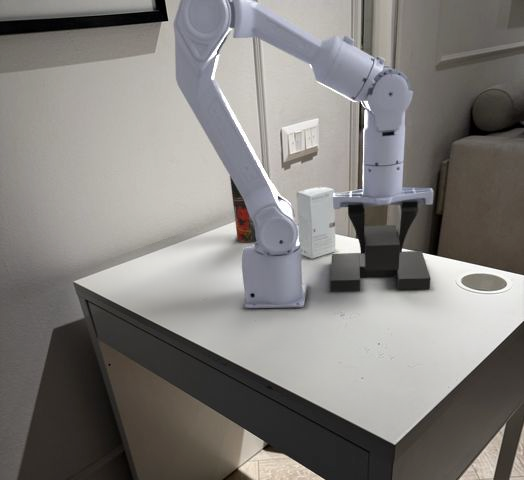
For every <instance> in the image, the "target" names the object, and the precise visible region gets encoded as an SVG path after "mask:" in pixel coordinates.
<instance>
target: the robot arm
mask: <svg viewBox="0 0 524 480" xmlns="http://www.w3.org/2000/svg"><path fill="white" fill-rule="evenodd" d="M172 24H173V25H172V26H173V32H174V53H175V54H174V56H175V57H174V59H175V62H174V63H175V81H176V83H177V86H178V88H179V90H180V91H181V93H182V95H183V97H184V98H185V100H186V102H187V104H188V105H189V107H190V109H191V110H192V112H193V114H194V116H195V118H196V119H197V121H198V123H199V124H200V126H201V128H202V130H203V131H204V133H205V135H206V137H207V139H208V140H209V142H210V144H211V146H212V147H213V149H214V150H215V152H216V154H217V156H218V158H219V160H220V162H222V165H223V166H224V168H225V169H226V171H227V173H228V175H229V178H230V177H231V178H232V180H233V182H234V184H235V185H236V187H237V189H238V190H239V192H240V194H241V196H242V197H243V199H244V202H245V205H246V207H247V210H248V213H249V215H250V218H251V219H252V221H253V223H254V226H255V235H256V240H257V241H256V242H254V246H248V247H244V248H243V249H242V254H241V273H242V281H243V290H244V291H243V292H244V299H245V305H244V306H245V308H246V309H277V308H281V309H282V308H283V309H285V308H303V307H304V306H305V300H306V296H307V295H306V294H307V288H308V285H307V284H306V283H303V270H302V267H303V266H302V254H301V247H300V240H299V229H298V223H296V219H295V218H296V214H295V213H296V212H295V209H294V207H293V205H292V203H291V202H289V200H287V199H286V198H284V197H283V196H282V195H281V194H280V193H279V192H278V190H277V188H276V187H275V185H274V184H273V183H272V181H271V179H270V178H269V176H268V174H267V173H266V171H265V169H264V167H263V165H262V163H261V161H260V160H259V158H258V156H257V154H256V152H255V150H254V148H253V147H252V145H251V142H250V141H249V139H248V137H247V135H246V134H245V132H244V130H243V128H242V126H241V124H240V122H239V121H238V119H237V117H236V114H235V113H234V111H233V110H232V108H231V105H230V104H229V102H228V100H227V99H226V97H225V95H224V93H223V91H222V89H221V87H220V85H219V83H218V81H217V80H216V78H215V74H216V70H217V66H218V62H219V57H220V52H221V50H222V47H223V46H224V44H225V43H226V41H227V39H228V37H229V36H230V34H231V31H232V29H233V33H232V34H233V35H232V37H233V39H248V38H254V39H255V38H256V39H259V40H261V41H263V42H265V43H267V44H268V45H270V46H273V47H274V48H276V49H278V50H280V51H282V52H283V53H286V54H288V55H290V56H292V57H294V58H296V59H298V60H299V61H302V62H303V63H306V64H308V66H310V68H311V71H312V75H313V78H314V81H315V82H317V83H319V85H322V86H324V87H326V88H327V89H330V90H332V91H333V92H335V93H337V94H339V95H341V96H343V97H344V98H346V99H348V100H349V101H351V102H354V103H359V102H360V103H361V105H362V106H363V108H364V127H363V143H362V145H363V146H362V148H363V149H362V150H363V151H362V152H363V153H362V154H363V155H362V189H357V190H350V191H343V192H334V193H333V209H335V210H340V209H341V208H347V215H348V218H349V220H350V222H351V224H352V226H353V228H354V230H355V233H356V236H357V239H358V243H359V247H360V253H361V254H365V236H364V226H366V225H365V224H366V223H365V222H366V221H365V220H366V214H365V207H378V206H397V205H398V209H397V210H398V211H397V213H398V214H397V216H398V218H397V219H398V220H397V234H398V238H399V242H400V252H403V247H404V243H405V240H406V237H407V235H408V232H409V230H410V228H411V226H412V224H413V222H414V220H415V219H416V218H417V215H418V214H419V207H418V205H420V204H421V205H423V204H424V205H425V206H426V205H427V206H428V205H429V206H430V205H433V203H434V193H435V192H434V190H433V188H432V187H403V183H404V182H403V180H404V179H403V178H404V176H403V175H404V160H405V159H404V158H405V140H406V125H405V124H406V123H405V122H406V110H407V109H408V108H409V106H410V104H411V102H412V99H413V96H414V91H413V90H412V87H411V83H410V81H409V80H408V79H409V78H408V77H407V75H406V74H405V73H404V72H402V71H400V70H398V69H395V68H391V66H390V65H385V62H386V58H384V57H383V56H380V55H377V57H374V56H372V55H371V54H369V53H367V52H365V51H363V50H362V49H360V48H358V47H356V46H355V45H354V43H355V39H354V38H352V37H350V36H348V35H344V36H343V38H341V37H340V36H338V35H334V36H331V37H329V38H326V39H324V40H320V39H319V38H317V37H315V36H313V35H312V34H310V33H309V32H307V31H306V30H304V29H302V28H301V27H299V26H297V25H296V24H294V23H292V22H291V21H289V20H287V19H285V18H284V17H282V16H281V15H279V13H278V14H277V13H276V12H275V11H273V10H271V9H269V8H268V7H266V6H265V5H263V4H261V3H259V2H257V1H256V0H179V3H178V6H177V10H176V14H175V16H174V20H173V23H172Z"/></svg>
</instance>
